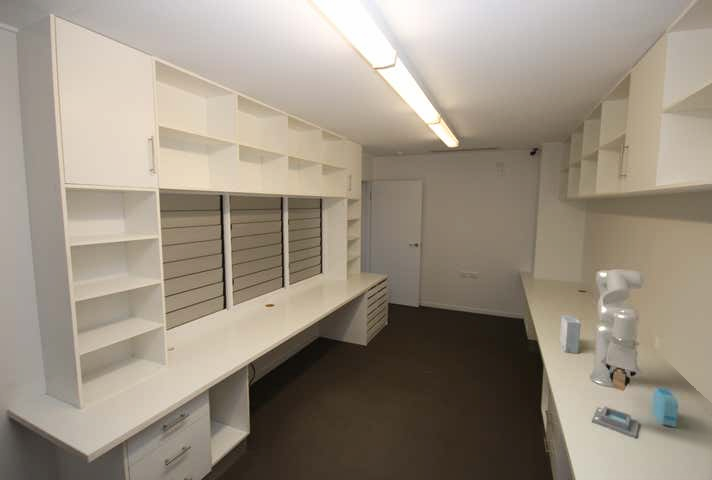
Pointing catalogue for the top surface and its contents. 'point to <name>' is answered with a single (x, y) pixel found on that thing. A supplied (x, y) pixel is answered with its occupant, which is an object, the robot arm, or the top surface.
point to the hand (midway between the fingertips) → (619, 382)
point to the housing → (616, 421)
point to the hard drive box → (570, 334)
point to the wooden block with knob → (619, 379)
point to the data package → (665, 407)
